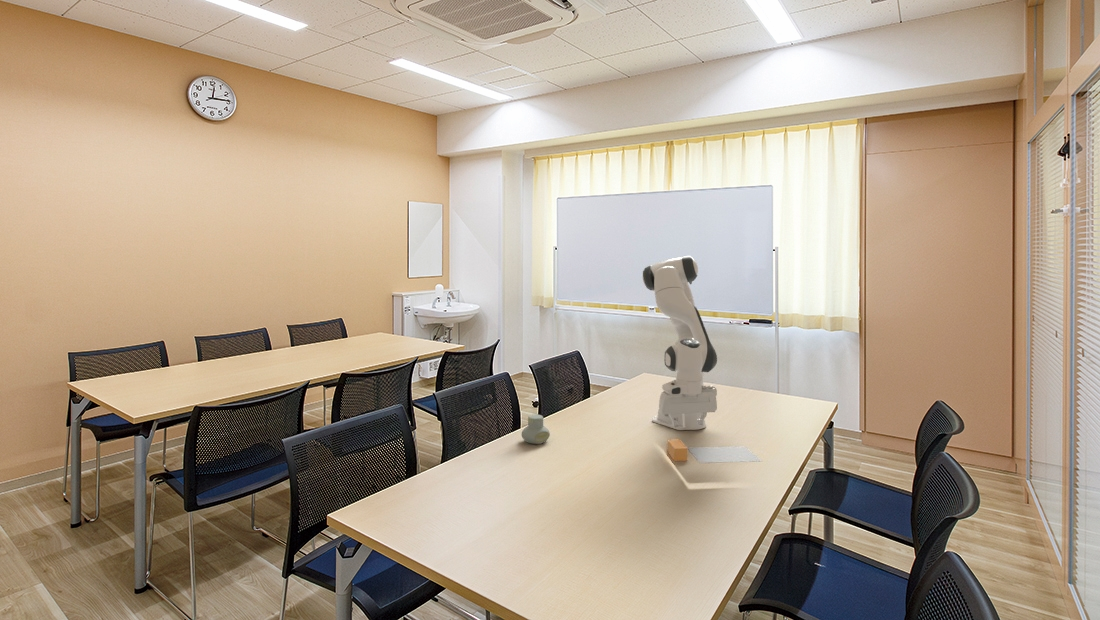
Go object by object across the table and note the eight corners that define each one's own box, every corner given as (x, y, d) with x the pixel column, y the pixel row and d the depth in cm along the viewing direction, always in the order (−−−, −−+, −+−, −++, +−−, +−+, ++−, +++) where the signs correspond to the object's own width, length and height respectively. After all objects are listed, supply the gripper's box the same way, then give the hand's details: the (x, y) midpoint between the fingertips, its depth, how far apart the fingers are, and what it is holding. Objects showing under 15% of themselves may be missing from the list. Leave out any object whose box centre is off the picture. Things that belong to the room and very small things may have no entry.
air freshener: (530, 447, 204) (530, 421, 203) (518, 441, 211) (517, 416, 210) (553, 441, 211) (553, 416, 209) (541, 435, 217) (541, 411, 216)
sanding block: (686, 464, 189) (687, 448, 188) (674, 465, 189) (674, 448, 188) (679, 455, 198) (679, 439, 197) (666, 455, 197) (667, 439, 197)
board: (699, 466, 187) (699, 462, 187) (686, 451, 201) (686, 447, 201) (761, 465, 188) (762, 461, 188) (744, 450, 202) (744, 446, 202)
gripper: (712, 383, 194) (711, 420, 196) (657, 385, 191) (656, 423, 193) (721, 387, 188) (719, 426, 189) (664, 390, 185) (663, 429, 186)
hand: (687, 424), depth 191 cm, fingers open, 8 cm apart
